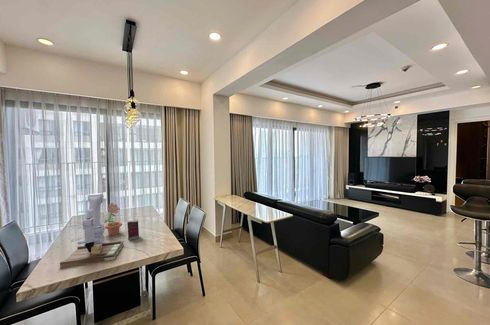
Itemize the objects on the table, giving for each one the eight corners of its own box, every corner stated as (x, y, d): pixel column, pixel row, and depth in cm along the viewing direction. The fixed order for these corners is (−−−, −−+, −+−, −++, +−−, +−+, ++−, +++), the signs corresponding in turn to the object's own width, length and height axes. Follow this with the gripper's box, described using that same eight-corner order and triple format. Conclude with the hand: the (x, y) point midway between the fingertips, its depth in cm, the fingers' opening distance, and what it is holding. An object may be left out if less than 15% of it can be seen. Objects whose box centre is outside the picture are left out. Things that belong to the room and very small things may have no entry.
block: (94, 251, 152) (94, 244, 151) (102, 250, 153) (101, 244, 153) (91, 254, 147) (91, 247, 147) (99, 253, 148) (99, 246, 148)
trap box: (78, 250, 156) (77, 246, 156) (123, 244, 166) (123, 240, 166) (60, 267, 134) (59, 262, 133) (114, 259, 143) (113, 254, 143)
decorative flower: (112, 237, 180) (111, 205, 179) (100, 236, 183) (99, 205, 181) (125, 231, 195) (124, 201, 193) (114, 230, 198) (112, 201, 196)
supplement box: (138, 236, 183) (138, 219, 182) (139, 238, 179) (138, 221, 178) (128, 238, 179) (127, 221, 178) (128, 240, 175) (127, 222, 174)
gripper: (75, 237, 142) (76, 256, 143) (98, 235, 146) (99, 252, 147) (80, 234, 149) (80, 251, 149) (102, 231, 153) (103, 248, 154)
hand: (90, 251), depth 149 cm, fingers closed
